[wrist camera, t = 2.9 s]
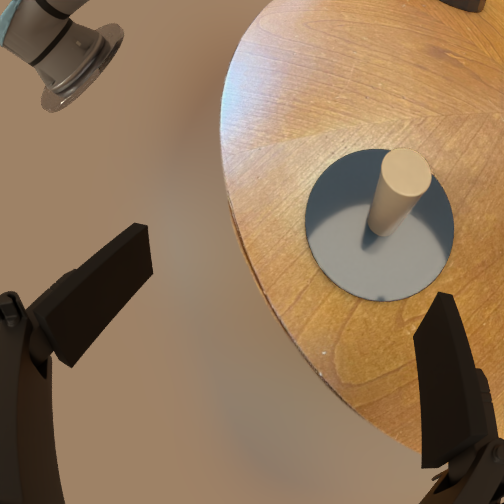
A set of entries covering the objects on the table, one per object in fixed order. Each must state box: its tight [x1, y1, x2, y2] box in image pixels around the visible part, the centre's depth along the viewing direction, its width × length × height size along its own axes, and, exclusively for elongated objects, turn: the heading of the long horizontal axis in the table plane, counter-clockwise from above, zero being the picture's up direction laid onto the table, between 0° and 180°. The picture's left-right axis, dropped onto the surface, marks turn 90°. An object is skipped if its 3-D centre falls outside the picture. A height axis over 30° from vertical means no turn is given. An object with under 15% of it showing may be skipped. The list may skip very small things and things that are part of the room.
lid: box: [305, 148, 454, 302], centre depth 17 cm, size 12×12×10 cm
